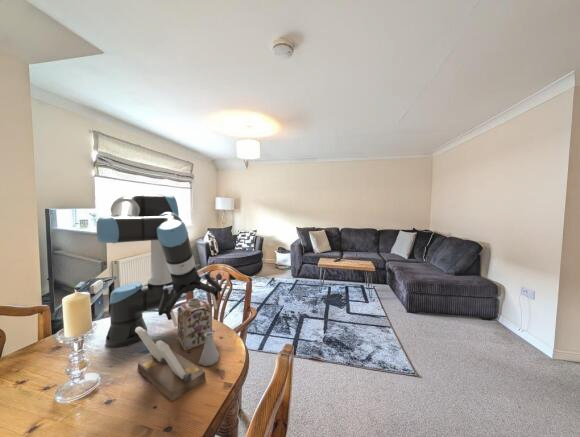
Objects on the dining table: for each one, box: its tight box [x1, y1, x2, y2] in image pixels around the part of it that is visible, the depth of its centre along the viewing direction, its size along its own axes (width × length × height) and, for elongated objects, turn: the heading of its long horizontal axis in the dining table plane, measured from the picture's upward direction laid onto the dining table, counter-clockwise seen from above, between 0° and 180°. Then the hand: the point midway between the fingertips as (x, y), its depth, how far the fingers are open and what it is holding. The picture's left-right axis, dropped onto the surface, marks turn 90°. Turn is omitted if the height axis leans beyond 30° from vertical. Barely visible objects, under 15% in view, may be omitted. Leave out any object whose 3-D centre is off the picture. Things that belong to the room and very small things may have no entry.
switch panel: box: [137, 348, 206, 402], centre depth 78 cm, size 11×24×4 cm, turn 54°
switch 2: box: [154, 339, 186, 380], centre depth 71 cm, size 2×6×14 cm, turn 55°
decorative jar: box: [177, 297, 213, 352], centre depth 99 cm, size 12×12×18 cm
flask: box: [198, 331, 221, 367], centre depth 85 cm, size 7×7×10 cm
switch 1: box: [135, 327, 163, 362], centre depth 79 cm, size 2×6×14 cm, turn 55°
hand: (196, 314), depth 81 cm, fingers open, 13 cm apart
